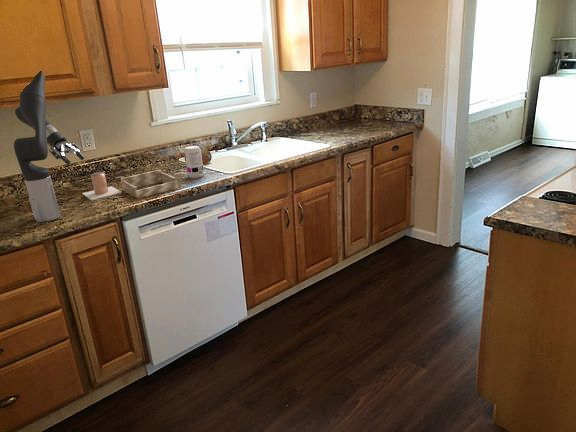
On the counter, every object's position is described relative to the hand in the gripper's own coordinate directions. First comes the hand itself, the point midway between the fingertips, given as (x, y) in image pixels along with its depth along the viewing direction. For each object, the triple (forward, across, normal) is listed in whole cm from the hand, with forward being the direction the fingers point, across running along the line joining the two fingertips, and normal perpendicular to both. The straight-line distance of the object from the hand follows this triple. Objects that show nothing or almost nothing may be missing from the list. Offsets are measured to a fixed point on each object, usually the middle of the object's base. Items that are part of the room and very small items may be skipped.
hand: (76, 161), depth 212 cm
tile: (+19, 0, +3) cm, 19 cm away
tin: (+32, +56, -11) cm, 65 cm away
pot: (+18, 0, +2) cm, 19 cm away
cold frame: (+33, +10, -11) cm, 37 cm away
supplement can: (+41, +34, -19) cm, 56 cm away
